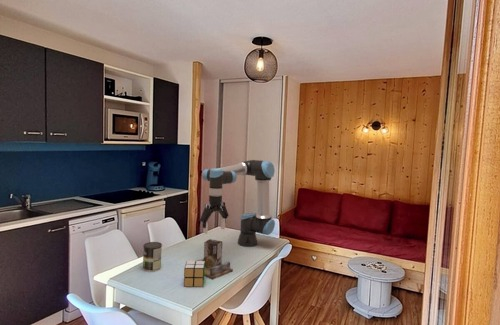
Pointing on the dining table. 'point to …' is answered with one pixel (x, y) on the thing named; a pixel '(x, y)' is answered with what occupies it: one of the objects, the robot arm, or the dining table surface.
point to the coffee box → (212, 253)
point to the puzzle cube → (194, 274)
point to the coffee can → (152, 256)
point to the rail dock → (207, 273)
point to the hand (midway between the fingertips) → (214, 231)
